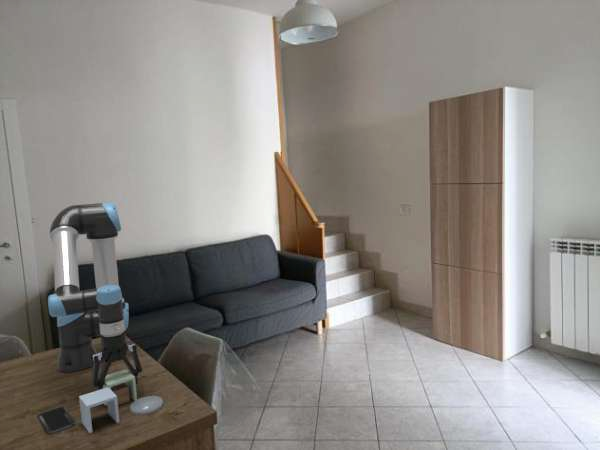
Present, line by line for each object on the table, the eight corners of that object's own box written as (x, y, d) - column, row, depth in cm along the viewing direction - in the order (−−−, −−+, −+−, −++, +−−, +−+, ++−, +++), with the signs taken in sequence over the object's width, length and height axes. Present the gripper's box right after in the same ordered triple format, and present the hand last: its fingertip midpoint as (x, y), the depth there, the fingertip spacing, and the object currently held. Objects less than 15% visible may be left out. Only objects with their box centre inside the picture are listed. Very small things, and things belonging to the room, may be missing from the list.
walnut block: (109, 401, 155) (108, 386, 154) (125, 395, 158) (123, 381, 158) (114, 406, 151) (113, 391, 151) (130, 400, 154) (128, 386, 154)
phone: (47, 433, 135) (37, 414, 147) (47, 436, 135) (37, 417, 147) (76, 422, 140) (64, 405, 152) (76, 426, 140) (64, 408, 152)
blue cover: (81, 422, 142) (78, 396, 141) (110, 412, 147) (108, 387, 146) (89, 433, 135) (86, 406, 134) (119, 422, 141) (116, 396, 140)
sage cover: (102, 400, 155) (100, 377, 154) (128, 392, 161) (126, 369, 160) (110, 409, 148) (108, 385, 148) (137, 400, 154) (134, 376, 153)
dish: (126, 406, 150) (125, 403, 150) (155, 396, 156) (155, 393, 156) (137, 418, 142) (136, 414, 142) (168, 406, 148) (167, 403, 148)
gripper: (81, 344, 142) (88, 414, 145) (149, 327, 156) (155, 391, 158) (74, 339, 148) (82, 406, 151) (141, 322, 162) (147, 384, 164)
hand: (119, 398), depth 154 cm, fingers closed on sage cover, 9 cm apart
